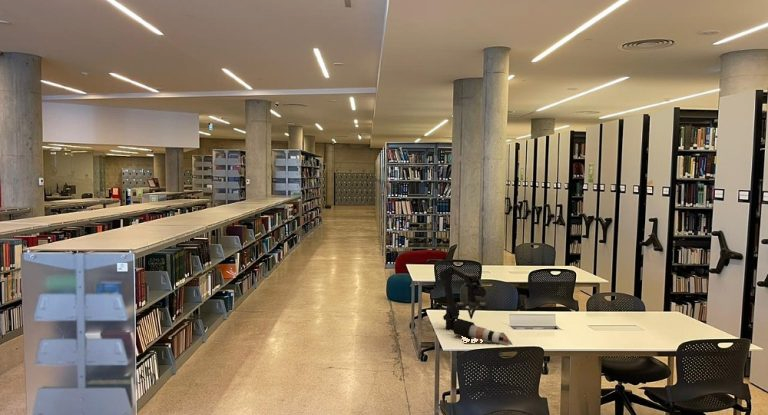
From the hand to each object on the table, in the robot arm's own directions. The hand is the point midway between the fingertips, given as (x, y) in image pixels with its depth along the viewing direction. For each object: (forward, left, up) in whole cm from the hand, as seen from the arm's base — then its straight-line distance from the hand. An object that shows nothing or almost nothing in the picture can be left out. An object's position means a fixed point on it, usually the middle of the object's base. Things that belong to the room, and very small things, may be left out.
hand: (471, 318), depth 345 cm
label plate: (+8, -5, -11) cm, 14 cm away
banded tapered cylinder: (+5, -10, -11) cm, 16 cm away
